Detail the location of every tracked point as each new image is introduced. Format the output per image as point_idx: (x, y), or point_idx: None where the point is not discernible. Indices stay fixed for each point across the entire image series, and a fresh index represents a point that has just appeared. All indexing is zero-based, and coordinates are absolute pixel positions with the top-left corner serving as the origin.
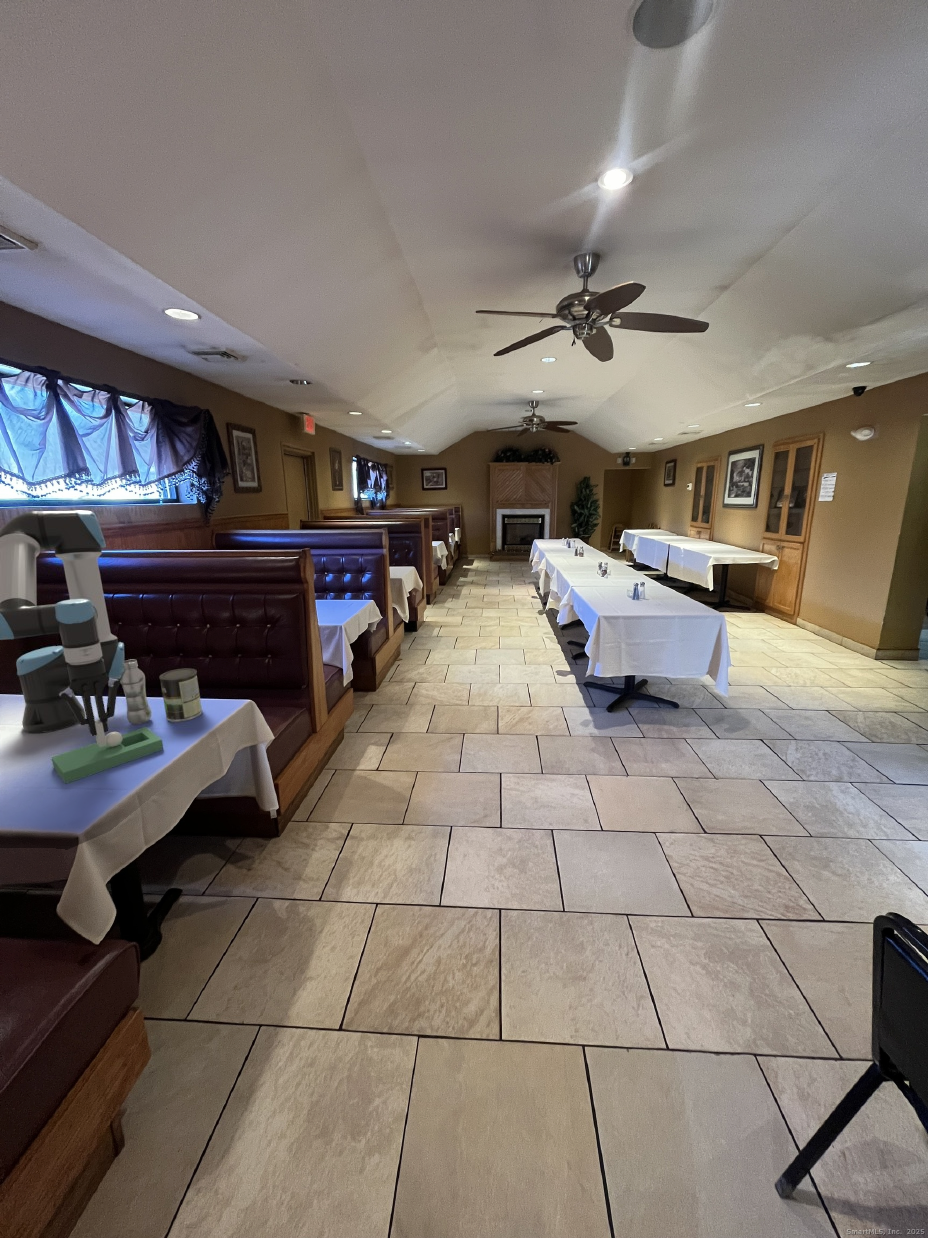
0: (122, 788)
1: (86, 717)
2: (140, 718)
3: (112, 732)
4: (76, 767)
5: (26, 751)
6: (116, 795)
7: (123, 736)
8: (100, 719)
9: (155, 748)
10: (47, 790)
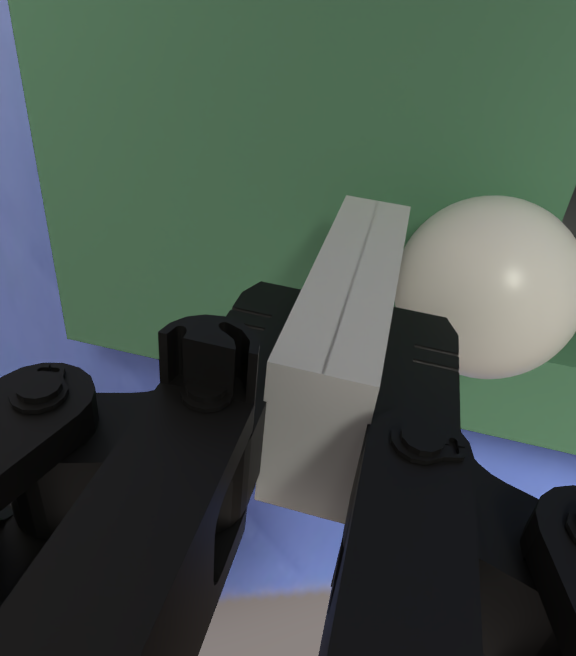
0: (290, 552)
1: (116, 468)
2: None
3: (492, 342)
4: (139, 343)
5: None
6: (252, 568)
7: None
8: (348, 517)
9: None
10: (31, 277)
